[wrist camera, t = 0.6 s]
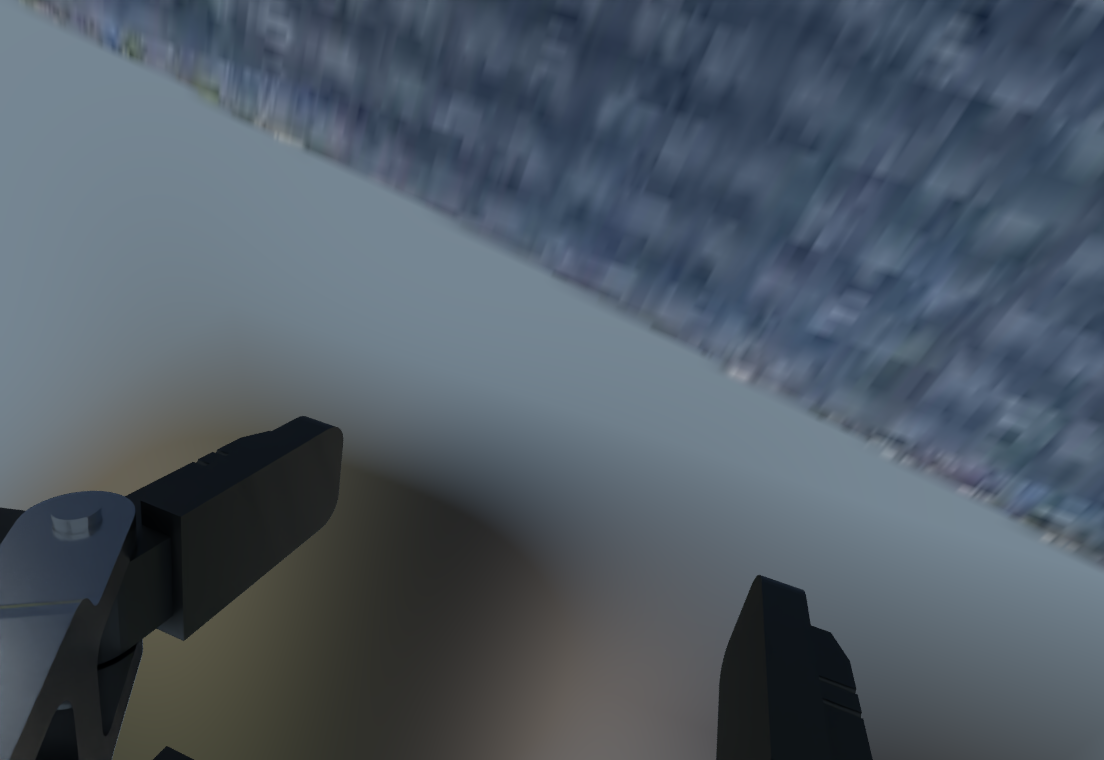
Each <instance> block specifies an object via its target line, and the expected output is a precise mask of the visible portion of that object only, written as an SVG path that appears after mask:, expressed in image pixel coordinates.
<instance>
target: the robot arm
mask: <svg viewBox="0 0 1104 760" xmlns="http://www.w3.org/2000/svg"><path fill="white" fill-rule="evenodd" d="M342 448H343V434H342V431H341V430H340V429H339V428H338V427H335V426H332V425H329V424H326V423H323V422H320V421H317V420H315V419H312V418H309V417H306V416H301V417H299V418H296V419H294V420H292V421H290V422H288V423H286V424H285V425H283V426H281V427H279V428H277V429H275V430H273V431H267V432H263V433H259V434H254V435H250V436H246V437H242V438H239V439H237V440H235V441H233V442H231V443H230V444H227V445H225V446H223V447H222V448H220V449H218V450H217V452H216V453H214V452H212V453H210V454H208V455H206V456H204V457H202V458H200V459H198V461H197V463H195V462H192V463H190V464H188V465H186V466H184V467H182V468H180V469H178V470H176V471H174V472H172V473H170V474H168V475H167V476H164V477H162V478H161V479H158V480H157V481H154V482H152V483H151V484H149V485H147V486H145V487H143V488H141V489H139V490H137V491H135V492H133V493H131V494H129V495H127V496H125V497H124V496H122V495H119V494H116V493H111V492H104V491H84V492H75V493H69V494H64V495H61V496H57V497H53V498H50V499H48V500H45V501H43V502H40V503H38V504H36V505H34V506H33V507H31V508H30V509H28V510H27V511H23V510H15V509H7V508H0V760H112V756H113V753H114V749H115V746H116V742H117V739H118V735H119V732H120V729H121V725H122V722H123V718H124V715H125V711H126V708H127V704H128V701H129V698H130V695H131V691H132V688H133V684H134V681H135V678H136V674H137V670H138V667H139V664H140V660H141V657H142V653H143V640H142V639H143V638H144V637H146V636H147V635H148V634H149V633H151V632H152V631H154V630H155V629H159V630H161V631H163V632H165V633H168V634H170V635H172V636H174V637H176V638H179V639H181V640H183V641H184V640H186V639H187V638H188V637H189V636H190V635H191V634H193V633H194V632H195V631H196V630H198V629H199V628H200V627H201V626H203V625H204V624H205V623H206V622H207V621H209V620H210V619H211V618H212V617H213V616H215V615H216V614H217V613H218V612H219V611H221V610H222V609H223V608H224V607H226V606H227V605H228V604H229V603H230V602H232V601H233V600H234V599H235V598H236V597H238V596H239V595H240V594H242V593H243V592H244V591H245V590H246V589H248V588H249V587H250V586H251V585H253V584H254V583H255V582H256V581H257V580H258V579H260V578H261V577H262V576H264V575H265V574H266V573H267V572H268V571H270V570H271V569H272V568H273V567H274V566H276V565H277V564H278V563H279V562H281V561H282V560H283V559H284V558H285V557H287V556H288V555H289V554H290V553H292V552H293V551H294V550H295V549H296V548H298V547H299V546H300V545H301V544H302V543H304V542H305V541H306V540H307V539H309V538H310V537H311V536H312V535H313V534H315V533H316V532H317V531H318V530H320V529H321V528H322V527H323V526H324V525H325V524H326V523H327V521H328V520H329V518H330V517H331V515H332V513H333V511H334V509H335V507H336V504H337V500H338V494H339V482H340V470H341V459H342ZM855 692H856V686H855V681H854V677H853V673H852V669H851V664H850V661H849V659H848V658H847V656H846V655H845V653H844V652H843V650H842V649H841V647H840V646H839V644H838V643H837V641H836V640H835V638H834V637H833V635H832V634H831V633H830V632H828V631H825V630H822V629H819V628H816V627H814V626H811V624H810V619H809V612H808V606H807V600H806V594H805V592H804V590H801V589H799V588H796V587H793V586H790V585H787V584H784V583H781V582H779V581H776V580H773V579H770V578H767V577H764V576H761V575H757V576H756V578H755V579H754V581H753V583H752V586H751V588H750V590H749V593H748V595H747V598H746V600H745V603H744V605H743V608H742V610H741V613H740V615H739V618H738V620H737V623H736V625H735V627H734V630H733V632H732V635H731V638H730V640H729V642H728V645H727V648H726V651H725V655H724V659H723V663H722V668H721V674H720V683H719V706H718V729H717V753H716V760H873V759H872V755H871V751H870V746H869V742H868V738H867V734H866V729H865V725H864V720H863V719H862V718H861V713H862V712H861V707H860V703H859V699H858V695H857V694H855ZM153 760H194V759H192V758H190V757H188V756H185V755H184V754H182V753H180V752H178V751H175V750H174V749H172V748H170V747H167V746H166V747H165V748H164V749H163V750H162V751H161V752H160V753H159V754H158V755H157V756H156V757H155V758H154V759H153Z"/></svg>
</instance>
